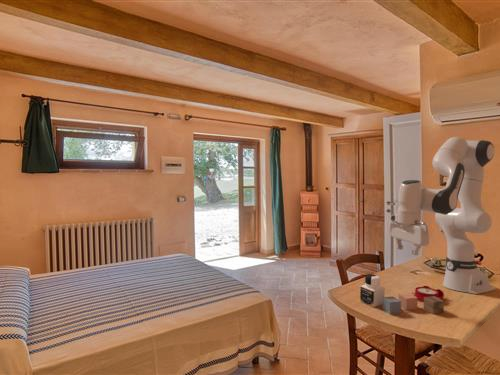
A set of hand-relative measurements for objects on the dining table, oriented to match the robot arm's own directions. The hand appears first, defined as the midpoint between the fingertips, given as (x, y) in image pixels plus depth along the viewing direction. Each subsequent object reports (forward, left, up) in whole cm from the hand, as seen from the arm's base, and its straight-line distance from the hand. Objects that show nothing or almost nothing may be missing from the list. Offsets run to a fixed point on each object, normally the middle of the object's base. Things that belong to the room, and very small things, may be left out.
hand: (407, 251), depth 133 cm
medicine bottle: (+12, -6, -23) cm, 27 cm away
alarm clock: (-16, -6, -24) cm, 29 cm away
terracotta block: (0, +1, -23) cm, 23 cm away
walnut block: (-8, +6, -23) cm, 25 cm away
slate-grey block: (+9, +3, -23) cm, 25 cm away
